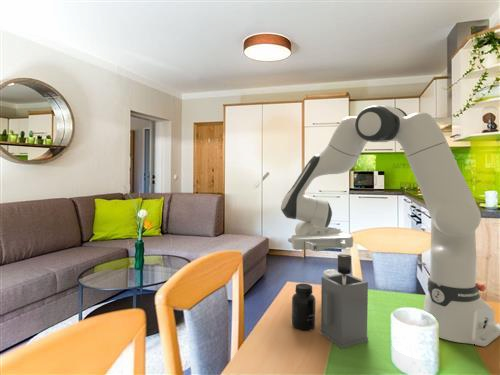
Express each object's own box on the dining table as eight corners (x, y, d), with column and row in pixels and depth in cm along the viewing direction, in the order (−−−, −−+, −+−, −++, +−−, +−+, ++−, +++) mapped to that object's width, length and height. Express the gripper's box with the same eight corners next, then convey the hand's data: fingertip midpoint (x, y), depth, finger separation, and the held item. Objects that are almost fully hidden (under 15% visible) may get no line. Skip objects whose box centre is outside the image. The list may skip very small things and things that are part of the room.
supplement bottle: (315, 332, 92) (315, 291, 92) (290, 330, 94) (291, 289, 93) (315, 321, 99) (315, 282, 99) (292, 319, 101) (292, 281, 100)
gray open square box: (345, 326, 96) (346, 272, 95) (368, 341, 88) (369, 282, 87) (314, 334, 92) (315, 277, 91) (335, 350, 83) (336, 288, 83)
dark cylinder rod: (344, 310, 94) (345, 252, 93) (360, 319, 88) (361, 257, 87) (327, 314, 91) (328, 254, 90) (342, 324, 86) (343, 260, 85)
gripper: (286, 229, 114) (296, 237, 100) (343, 227, 116) (360, 235, 102) (286, 247, 114) (296, 258, 100) (343, 245, 116) (360, 255, 102)
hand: (329, 246), depth 101 cm, fingers open, 8 cm apart
